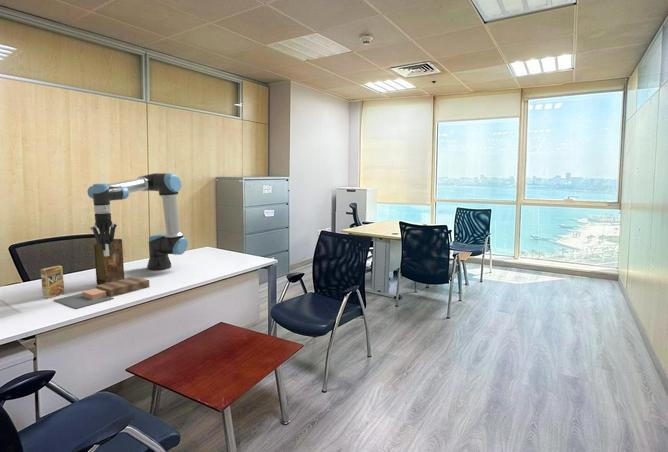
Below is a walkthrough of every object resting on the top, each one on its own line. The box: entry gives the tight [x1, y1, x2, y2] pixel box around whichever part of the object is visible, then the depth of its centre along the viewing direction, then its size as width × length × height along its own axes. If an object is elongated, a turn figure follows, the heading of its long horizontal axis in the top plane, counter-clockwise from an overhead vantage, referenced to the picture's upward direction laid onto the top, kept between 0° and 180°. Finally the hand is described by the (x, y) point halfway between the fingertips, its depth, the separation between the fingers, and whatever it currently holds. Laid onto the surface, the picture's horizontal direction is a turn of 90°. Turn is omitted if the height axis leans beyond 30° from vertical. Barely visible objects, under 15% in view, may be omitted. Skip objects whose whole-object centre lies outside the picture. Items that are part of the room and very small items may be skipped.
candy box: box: [40, 265, 66, 299], centre depth 205 cm, size 9×4×15 cm, turn 159°
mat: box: [53, 292, 114, 310], centre depth 200 cm, size 18×22×1 cm
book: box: [93, 238, 125, 285], centre depth 229 cm, size 16×6×25 cm, turn 168°
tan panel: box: [95, 276, 151, 298], centre depth 218 cm, size 22×14×4 cm, turn 149°
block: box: [81, 288, 107, 300], centre depth 204 cm, size 7×10×2 cm
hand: (106, 255), depth 212 cm, fingers closed
